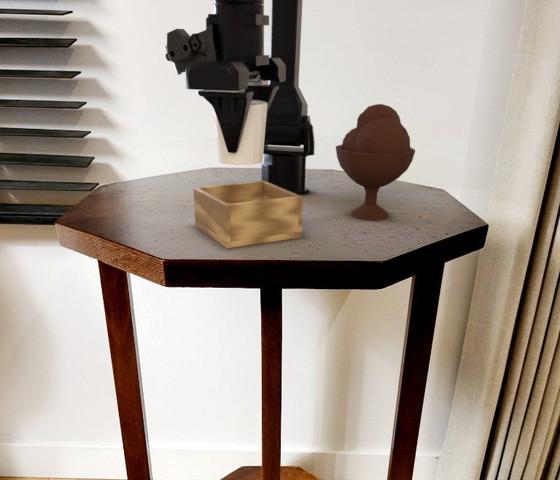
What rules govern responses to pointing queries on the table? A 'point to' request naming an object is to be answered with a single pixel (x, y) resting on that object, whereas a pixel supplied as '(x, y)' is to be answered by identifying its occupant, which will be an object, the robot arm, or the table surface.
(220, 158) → the white cup
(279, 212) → the box
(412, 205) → the table surface
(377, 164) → the ice cream bowl
